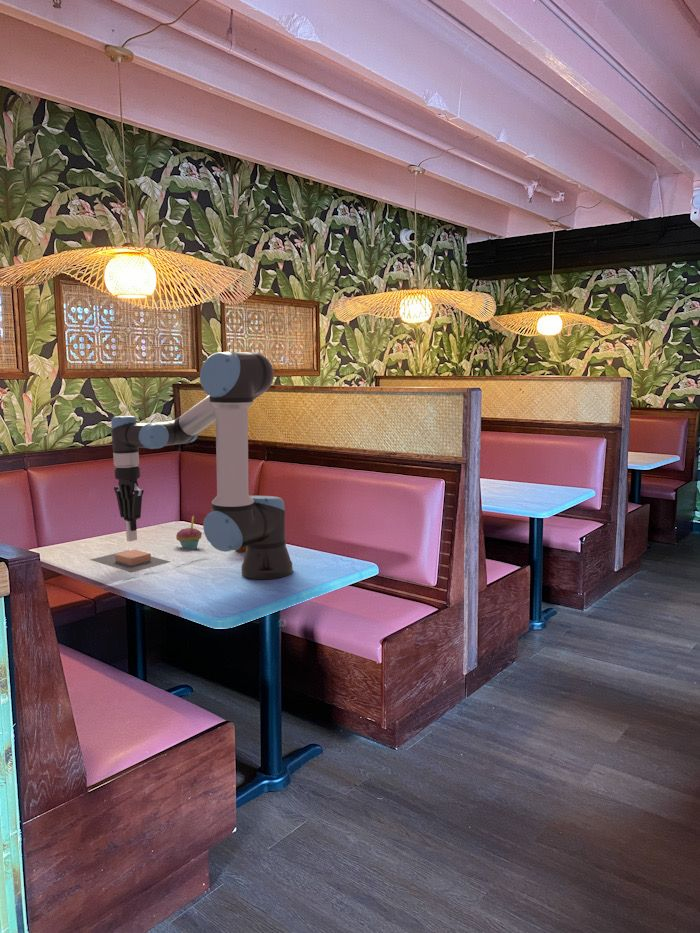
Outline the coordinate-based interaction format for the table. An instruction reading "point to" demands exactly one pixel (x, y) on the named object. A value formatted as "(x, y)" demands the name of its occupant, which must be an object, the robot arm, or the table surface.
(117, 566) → the mat
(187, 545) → the cupcake
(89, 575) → the table surface
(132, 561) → the tile
